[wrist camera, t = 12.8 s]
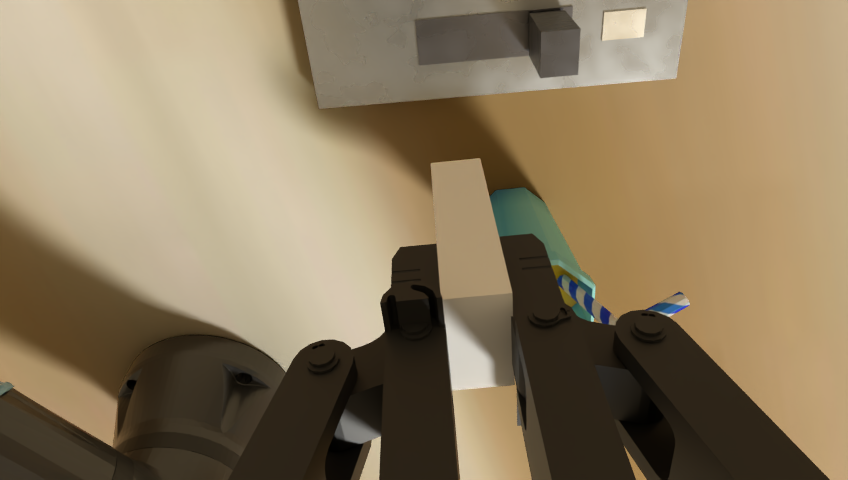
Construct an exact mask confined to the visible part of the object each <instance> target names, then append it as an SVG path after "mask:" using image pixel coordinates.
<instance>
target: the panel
mask: <svg viewBox="0 0 848 480" xmlns="http://www.w3.org/2000/svg"><path fill="white" fill-rule="evenodd" d="M687 2H688V0H298V4H299V9H300V15H301V20H302V25H303V30H304V35H305V40H306V45H307V51H308V56H309V61H310V66H311V71H312V76H313V81H314V87H315V92H316V97H317V102H318V107H319V109H324V108H336V107H348V106H359V105H371V104H383V103H394V102H406V101H418V100H429V99H441V98H453V97H464V96H476V95H488V94H499V93H511V92H523V91H534V90H546V89H558V88H569V87H581V86H593V85H604V84H616V83H628V82H639V81H651V80H663V79H674V78H676V76H677V69H678V63H679V56H680V49H681V43H682V36H683V29H684V23H685V16H686V9H687Z"/></svg>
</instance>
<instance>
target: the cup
mask: <svg viewBox="0 0 848 480" xmlns="http://www.w3.org/2000/svg"><path fill="white" fill-rule="evenodd" d="M490 201H491V205H492V210H493V214H494V218H495V222H496V226H497V231H498V235H499V237H500V236H510V235H521V234H531V233H532V234H534V235H535V236H536V237H537V238H538V239H539V240H541V241H542V242H543V243H544V245H545V248H546V251H547V254H548V258H549V259H550V262H551V265H552V268H553V271H554V274H555V277H556V279H557V282H558V285H559V288H560V291H561V294H562V297H563V299H564V302H565V304H567V305H568V306H570V307H571V308H572V309H573V311H574V312H575V313H576V315H577V316H578V317H580V318H582V319H585V320H588V321H591V322H593V320H594V318H595V319H596V320H597V321H598V322H599V323H602V324H609V325H615V324H616V321H617V320H618V318H616V317H615V316H614V315H613V314H612V313H610V312H609V311H608V310H607V309H606V308H604V307H603V306H602V305H601V304H600V303H599V302H597V301H596V300H595V284H594V282H593V281H592V279H591V278H590V276H589V275H587V274H586V273H585V272H583V271H582V270H581V269H580V267H579V265H578V263H577V261H576V259H575V258H574V256H573V254H572V252H571V250H570V248H569V246H568V245H567V243H566V241H565V239H564V237H563V235H562V234H561V232H560V230H559V228H558V226H557V224H556V222H555V221H554V219H553V217H552V215H551V213H550V211H549V210H548V208H547V206H546V204H545V202H543V201H542V200H541V199H539V198H538V197H537V196H535V195H534V194H533V193H531V192H530V191H529V190H527V189H526V188H525V187H523V188H513V189H503V190H496V191H495V192H494V193H493V194H492V195H491V196H490ZM689 305H690V303H689V301H688V299H687V298H686V296H685V295H684V294H683V293H681V292H678V293H676V294H674V295H673V296H671V297H669V298H667V299H665V300H663V301H661V302H659V303H657V304H655V305H654V306H652V307H650V308H648V309H646V310H648V311H655V312H658V313H661V314H663V315H666V316H668V317H669V316H671V315H673V314H675V313H677V312H678V311H680V310H682V309H684V308H686V307H688V306H689Z"/></svg>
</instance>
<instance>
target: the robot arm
mask: <svg viewBox="0 0 848 480" xmlns="http://www.w3.org/2000/svg"><path fill="white" fill-rule="evenodd" d="M431 175H432V189H433V202H434V215H435V228H436V242H437V244H429V245H419V246H408V247H400V248H399V250H398V251H397V253H396V254H395V256H394V257H393V259H392V277H391V283H392V284H391V288H390V289H389V290H388V291H387V292H386V293H385V294H384V295H383V297H382V299H381V302H380V304H381V310H382V316H383V321H384V327H385V332H384V333H383V334H382V335H381V336H380V337H379V338H377V339H376V340H374V341H373V342H371V343H369V344H366V345H364V346H361V347H358V348H355V349H352V350H351V347H349V346H348V345H347V344H345V343H344V342H341V341H337V340H321V341H318V342H315V343H312V344H310V345H308V346H307V347H305V348H303V349H302V350H300V352H299V353H298V354H297V355H296V357H295V358H294V359H293V361H292V363H291V365H290V366H289V368H288V370H287V372H286V373H285V372H284V371H283V370H282V369H281V368H280V367H279V366H278V365H277V364H276V363H275V362H274V361H273V360H271V359H270V358H269V357H267V356H266V355H264V354H262V353H261V352H259V351H257V350H255V349H253V348H251V347H249V346H247V345H244V344H242V343H239V342H236V341H233V340H229V339H225V338H220V337H214V336H204V335H189V336H180V337H174V338H170V339H166V340H163V341H160V342H158V343H156V344H154V345H152V346H150V347H148V348H147V349H145V350H144V351H143V352H142V353H141V354H140V355H139V356H138V357H137V358H136V359H135V360H134V362H133V363H132V365H131V367H130V369H129V371H128V373H127V374H126V376H125V378H124V380H123V382H122V384H121V387H120V390H119V395H118V404H117V413H116V422H115V431H114V440H113V447H111V446H109V445H108V444H106V443H104V442H103V441H101V440H99V439H97V438H96V437H94V436H92V435H91V434H89V433H87V432H86V431H84V430H82V429H80V428H79V427H77V426H75V425H74V424H72V423H70V422H69V421H67V420H65V419H63V418H62V417H60V416H58V415H57V414H55V413H53V412H52V411H50V410H48V409H46V408H45V407H43V406H41V405H40V404H38V403H36V402H35V401H33V400H31V399H30V398H28V397H26V396H25V395H23V394H22V393H20V392H18V391H17V390H15V389H14V388H13V387H14V386H13V385H12V384H11V383H9V382H5V383H3V382H1V381H0V480H359V479H360V476H361V473H362V470H363V468H364V465H365V462H366V459H367V456H368V453H369V450H370V447H371V440H372V439H375V438H377V437H380V436H381V452H380V476H379V480H460V474H459V463H458V451H457V440H456V428H455V417H454V406H453V396H452V390H463V389H474V388H486V387H497V386H509V385H514V376H515V381H516V386H517V426H520V425H521V426H522V431H523V436H524V441H525V446H526V451H527V457H528V462H529V467H530V472H531V477H532V480H636V478H635V476H634V473H633V470H632V467H631V465H630V462H629V459H628V456H627V454H626V451H625V448H626V449H627V451H628V452H629V454H630V455H631V457H632V458H633V460H634V461H635V462H636V464H637V465H638V467H639V468H640V470H641V471H642V473H643V474H644V476H645V477H646V479H647V480H830V479H829V478H828V477H827V476H826V475H825V474H824V473H823V472H822V471H821V470H820V469H819V468H818V467H817V466H816V465H815V464H814V463H813V462H812V461H811V460H810V459H809V458H808V457H807V456H806V455H805V454H804V453H803V452H802V451H801V450H800V449H799V448H798V447H797V446H796V445H795V444H794V443H793V442H792V441H791V440H790V438H789V437H788V436H787V435H786V434H785V433H784V432H783V431H782V430H781V429H780V428H779V427H778V426H777V425H776V424H775V423H774V422H773V421H772V420H771V419H770V418H769V417H768V416H767V415H766V414H765V413H764V412H763V411H762V410H761V409H760V408H759V407H758V406H757V405H756V404H755V403H754V402H753V401H752V400H751V399H750V397H749V396H748V395H747V394H746V393H745V392H744V391H743V390H742V389H741V388H740V387H739V386H738V385H737V384H736V383H735V382H734V381H733V380H732V379H731V378H730V377H729V376H728V375H727V374H726V373H725V372H724V371H723V370H722V369H721V368H720V367H719V366H718V365H717V364H716V363H715V362H714V361H713V360H712V359H711V358H710V356H709V355H708V354H707V353H706V352H705V351H704V350H703V349H702V348H701V347H700V346H699V345H698V344H697V343H696V342H695V341H694V340H693V339H692V338H691V337H690V336H689V335H688V334H687V333H686V332H685V331H684V330H683V329H682V328H681V327H680V326H679V325H678V324H677V323H676V322H675V321H673V320H672V319H671V318H669V317H668V316H666V315H663V314H661V313H658V312H655V311H648V310H637V311H630V312H628V313H626V314H624V315H621V316H620V318H619V319H618V320H617V321H616V324H615V325H609V324H602V323H596V322H591V321H588V320H585V319H582V318H580V317H578V316H577V315H576V313H575V312H574V311H573V309H572V308H571V307H570V306H568V305H567V304H565V302H564V299H563V297H562V294H561V291H560V288H559V285H558V282H557V279H556V277H555V274H554V271H553V268H552V265H551V262H550V259H549V258H548V254H547V251H546V248H545V245H544V243H543V242H542V241H541V240H539V239H538V238H537V237H536V236H535V235H534V234H532V233H531V234H521V235H510V236H500V237H499V235H498V231H497V226H496V222H495V218H494V214H493V210H492V205H491V201H490V197H489V193H488V189H487V185H486V180H485V176H484V172H483V168H482V164H481V160H480V158H476V159H466V160H456V161H446V162H436V163H431ZM624 446H625V448H624Z"/></svg>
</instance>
